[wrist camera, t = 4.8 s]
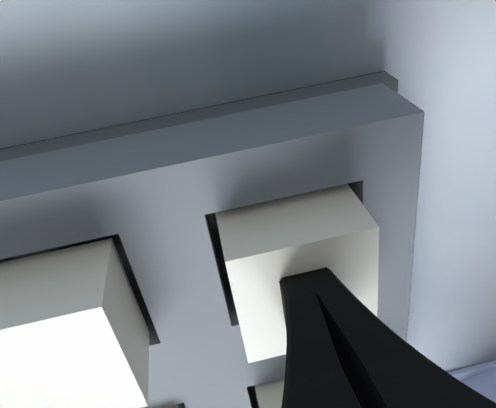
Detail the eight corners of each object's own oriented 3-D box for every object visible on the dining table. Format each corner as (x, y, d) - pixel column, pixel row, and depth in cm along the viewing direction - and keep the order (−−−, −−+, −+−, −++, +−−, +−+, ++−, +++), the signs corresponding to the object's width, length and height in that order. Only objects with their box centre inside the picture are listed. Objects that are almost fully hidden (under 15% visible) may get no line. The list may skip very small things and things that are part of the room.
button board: (384, 71, 15) (515, 154, 9) (376, 396, 25) (437, 526, 19) (-107, 171, 14) (-280, 330, 8) (93, 467, 24) (74, 626, 18)
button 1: (112, 238, 13) (101, 306, 10) (149, 332, 15) (147, 406, 12) (-32, 269, 12) (-75, 347, 10) (28, 360, 14) (4, 440, 12)
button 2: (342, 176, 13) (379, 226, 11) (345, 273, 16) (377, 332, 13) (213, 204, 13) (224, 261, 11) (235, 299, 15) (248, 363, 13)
